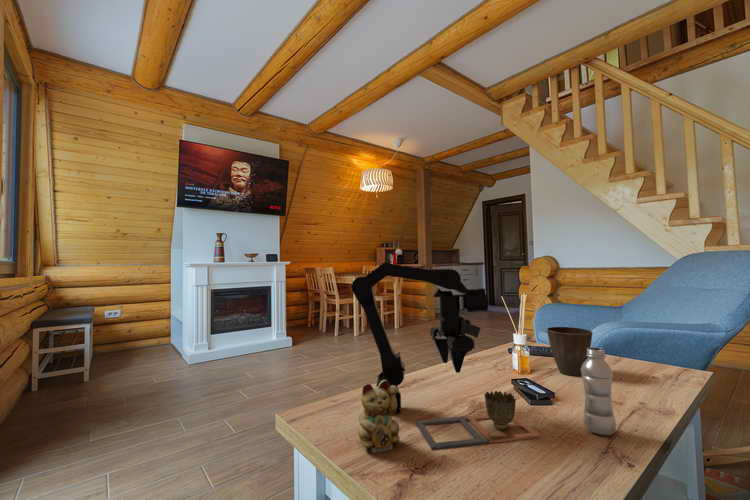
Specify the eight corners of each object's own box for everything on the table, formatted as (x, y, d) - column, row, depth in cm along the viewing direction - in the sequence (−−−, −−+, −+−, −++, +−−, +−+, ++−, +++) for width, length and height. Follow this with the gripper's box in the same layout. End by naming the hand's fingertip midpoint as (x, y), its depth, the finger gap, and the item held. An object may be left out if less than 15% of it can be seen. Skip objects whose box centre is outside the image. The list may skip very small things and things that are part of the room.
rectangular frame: (431, 449, 76) (431, 446, 76) (415, 423, 88) (415, 420, 88) (540, 437, 80) (540, 435, 80) (510, 414, 93) (510, 411, 93)
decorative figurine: (365, 458, 72) (363, 387, 73) (352, 441, 80) (351, 376, 81) (404, 448, 76) (403, 381, 77) (388, 432, 84) (387, 371, 85)
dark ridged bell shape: (519, 436, 81) (518, 402, 81) (487, 434, 82) (486, 400, 83) (513, 422, 88) (512, 391, 88) (483, 420, 89) (482, 389, 90)
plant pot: (551, 365, 137) (550, 325, 138) (595, 371, 129) (593, 328, 129) (545, 374, 125) (543, 331, 126) (593, 382, 116) (591, 335, 117)
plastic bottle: (617, 442, 78) (613, 353, 79) (583, 434, 81) (579, 350, 82) (615, 430, 83) (611, 347, 84) (583, 423, 87) (579, 344, 88)
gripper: (492, 316, 89) (494, 375, 89) (462, 307, 108) (464, 357, 107) (452, 317, 87) (454, 378, 87) (429, 308, 106) (430, 359, 105)
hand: (451, 367), depth 96 cm, fingers open, 9 cm apart
